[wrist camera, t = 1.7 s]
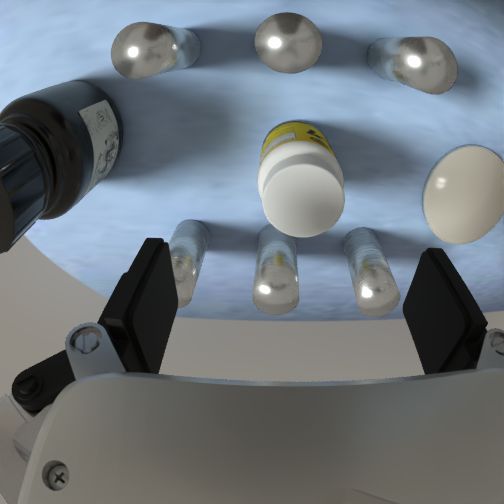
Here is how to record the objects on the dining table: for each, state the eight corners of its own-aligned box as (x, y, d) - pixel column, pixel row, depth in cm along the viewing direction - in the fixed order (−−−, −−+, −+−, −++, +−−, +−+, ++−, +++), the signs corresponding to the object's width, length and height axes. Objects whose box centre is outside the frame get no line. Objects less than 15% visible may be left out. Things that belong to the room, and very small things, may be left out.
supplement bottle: (340, 161, 22) (368, 218, 15) (285, 192, 24) (288, 260, 17) (305, 106, 20) (321, 137, 13) (248, 141, 22) (233, 190, 15)
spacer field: (409, 43, 16) (459, 45, 10) (373, 258, 27) (392, 316, 21) (157, 31, 17) (109, 28, 11) (177, 249, 28) (153, 306, 22)
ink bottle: (99, 203, 25) (22, 297, 16) (28, 155, 23) (-64, 226, 13) (147, 106, 20) (46, 168, 11) (61, 58, 18) (-59, 93, 8)
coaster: (515, 155, 19) (520, 158, 19) (487, 242, 25) (490, 246, 24) (434, 135, 20) (439, 138, 19) (410, 236, 25) (413, 241, 24)
